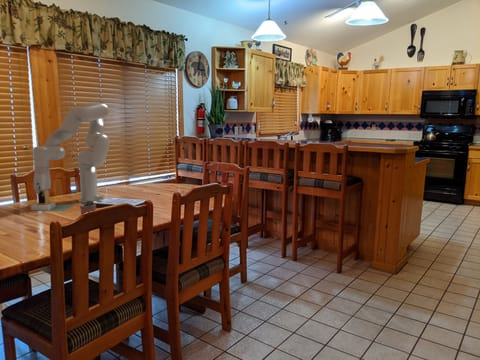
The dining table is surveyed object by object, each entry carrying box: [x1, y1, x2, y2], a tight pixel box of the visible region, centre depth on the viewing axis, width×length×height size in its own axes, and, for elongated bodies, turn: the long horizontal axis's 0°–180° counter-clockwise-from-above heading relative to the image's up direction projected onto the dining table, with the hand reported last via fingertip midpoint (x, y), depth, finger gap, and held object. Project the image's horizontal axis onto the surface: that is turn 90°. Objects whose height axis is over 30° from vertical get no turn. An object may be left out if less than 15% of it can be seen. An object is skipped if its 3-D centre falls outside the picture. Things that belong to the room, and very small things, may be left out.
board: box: [30, 201, 75, 212], centre depth 209 cm, size 18×14×4 cm
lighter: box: [80, 200, 97, 215], centre depth 190 cm, size 8×3×10 cm, turn 141°
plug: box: [37, 189, 50, 205], centre depth 206 cm, size 5×4×10 cm
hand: (44, 201), depth 207 cm, fingers closed on plug, 4 cm apart
